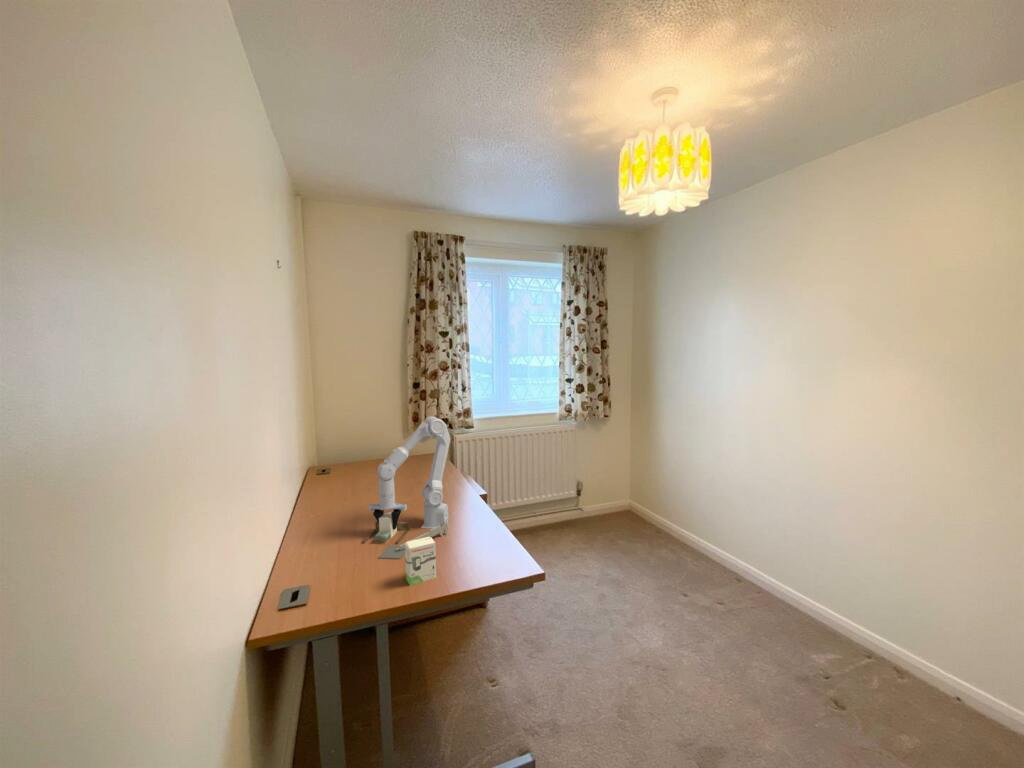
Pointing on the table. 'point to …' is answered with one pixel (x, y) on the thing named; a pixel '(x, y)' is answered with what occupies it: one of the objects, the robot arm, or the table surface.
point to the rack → (399, 527)
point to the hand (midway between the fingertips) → (388, 528)
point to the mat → (392, 553)
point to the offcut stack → (382, 538)
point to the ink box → (420, 560)
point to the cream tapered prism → (386, 524)
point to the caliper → (429, 534)
